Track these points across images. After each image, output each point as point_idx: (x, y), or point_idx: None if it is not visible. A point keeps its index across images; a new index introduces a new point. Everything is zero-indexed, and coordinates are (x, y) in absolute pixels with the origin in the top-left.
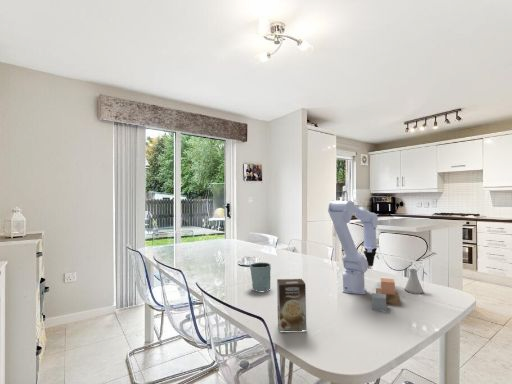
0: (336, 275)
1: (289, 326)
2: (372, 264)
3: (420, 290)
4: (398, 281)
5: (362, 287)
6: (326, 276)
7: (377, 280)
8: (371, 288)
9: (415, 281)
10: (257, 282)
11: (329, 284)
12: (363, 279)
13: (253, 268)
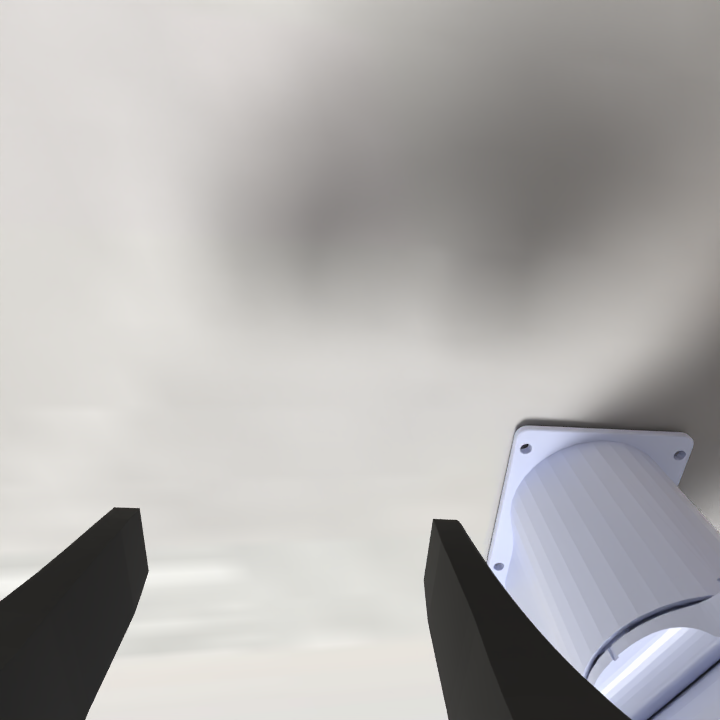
0: (133, 658)
1: None
2: (470, 548)
3: None
4: (55, 13)
5: (676, 486)
6: (202, 713)
7: (137, 306)
8: (473, 375)
9: None
10: None
11: (427, 676)
12: (713, 536)
13: None
